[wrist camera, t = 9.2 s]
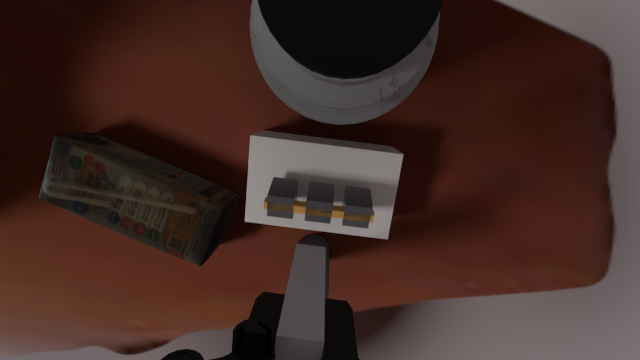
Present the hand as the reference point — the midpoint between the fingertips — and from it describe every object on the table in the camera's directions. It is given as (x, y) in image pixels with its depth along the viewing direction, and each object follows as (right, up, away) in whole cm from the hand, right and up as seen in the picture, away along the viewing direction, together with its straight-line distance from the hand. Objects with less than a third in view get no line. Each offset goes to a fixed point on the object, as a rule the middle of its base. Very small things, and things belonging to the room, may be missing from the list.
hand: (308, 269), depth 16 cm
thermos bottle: (+2, +16, +19) cm, 25 cm away
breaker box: (+1, +5, +21) cm, 22 cm away
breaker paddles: (+1, +4, +15) cm, 16 cm away
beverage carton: (-19, +3, +23) cm, 30 cm away
